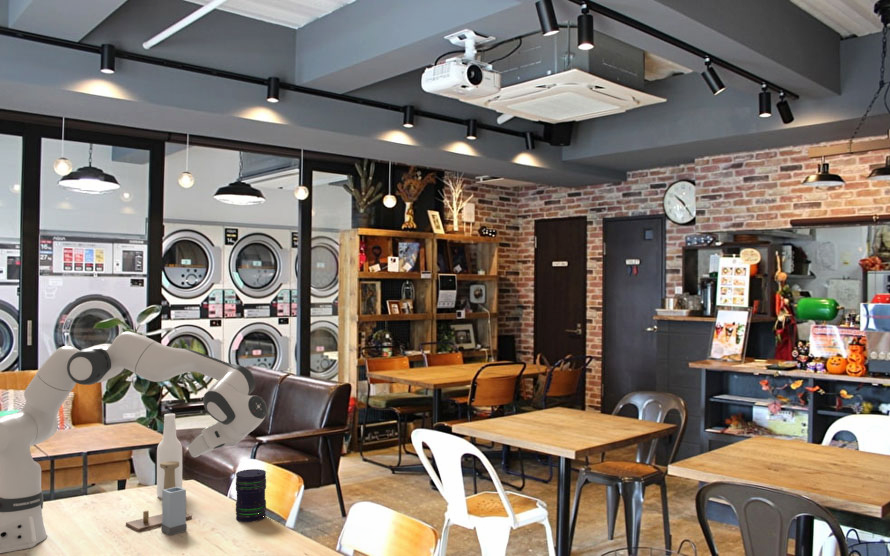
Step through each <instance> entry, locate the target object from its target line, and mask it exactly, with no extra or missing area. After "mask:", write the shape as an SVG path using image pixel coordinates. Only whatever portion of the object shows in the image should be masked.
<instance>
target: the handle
mask: <svg viewBox="0 0 890 556" xmlns="http://www.w3.org/2000/svg"><path fill="white" fill-rule="evenodd" d="M160 467H161V468H163V469H164V471H165V476H164V489H169V488H174V487H175V469H176V468H177V467H179V462H176V461H168V462H162V463H160Z"/></svg>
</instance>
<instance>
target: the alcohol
mask: <svg viewBox="0 0 890 556" xmlns="http://www.w3.org/2000/svg"><path fill="white" fill-rule="evenodd" d="M163 419H164V420H163V421H164V422H163V431H162V432H163V433H162V438H161V439H162V440H160V441H159V443H158V445H157V449H156V495H157V497H158V498H159V499H162V490H164V476H165V471H164V469H163V468H161V467H160V463H162V462H168V461H176V462H179V467H177V468H176V469H175V487H180V488H183V445H182V442H181V441H180V439H178V437H177V428H176V427H177V426H176V424H177V423H176V414H175V413H166V414H164V415H163Z"/></svg>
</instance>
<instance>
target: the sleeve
mask: <svg viewBox="0 0 890 556" xmlns="http://www.w3.org/2000/svg"><path fill="white" fill-rule="evenodd" d="M161 499H162V500H161V501H162V502H161V505H162V507H161V509H162V510H161V511H162V512H161V514H162V524H161V526H160V528H161V531H162V533H166V534H167V535H170V536H172V535H175V534H179V533H183V532H186V531H187V529H188V527H187V526H188V525H187V520H186V513H187V489H186V488H183V487H182V488H180V487H174V488H169V489H164V490H162V498H161Z"/></svg>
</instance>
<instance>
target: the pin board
mask: <svg viewBox="0 0 890 556" xmlns="http://www.w3.org/2000/svg"><path fill="white" fill-rule="evenodd" d="M142 513H143V514H142V516H143V517H142V518H140V519H136V520H131V521H127V522H126V521H125V526H126V527H127V528H130V529H132V530H134V531H135V532H138V533H140V532H143V531H147V530H152V529H157V528H161V524H162V513H160V514H157V515H152V516H149V513H150V512H149V510H143V512H142ZM192 517H193V516H192V515H191V514H189V513H187V512H186V521H188V520H191V519H193V518H192Z"/></svg>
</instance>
